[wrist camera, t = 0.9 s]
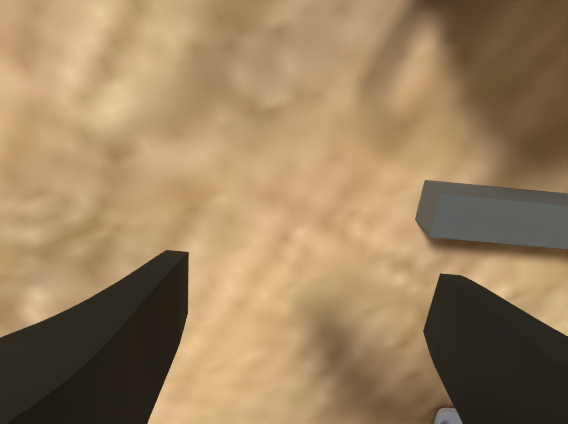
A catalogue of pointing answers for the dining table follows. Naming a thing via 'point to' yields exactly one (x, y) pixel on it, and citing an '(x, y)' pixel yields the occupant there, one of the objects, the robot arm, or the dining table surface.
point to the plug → (494, 214)
